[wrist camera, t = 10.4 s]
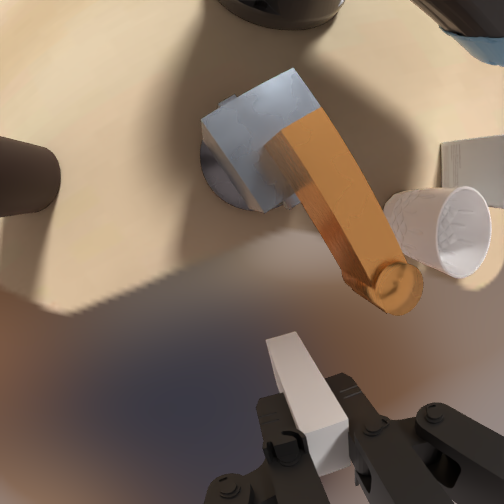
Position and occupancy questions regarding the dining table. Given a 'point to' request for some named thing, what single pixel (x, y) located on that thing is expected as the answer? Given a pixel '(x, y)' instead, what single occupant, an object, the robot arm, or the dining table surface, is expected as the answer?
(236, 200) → the dark grey cylinder
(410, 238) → the white cup
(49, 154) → the bottle
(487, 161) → the supplement box
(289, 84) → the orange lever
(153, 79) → the dining table surface
